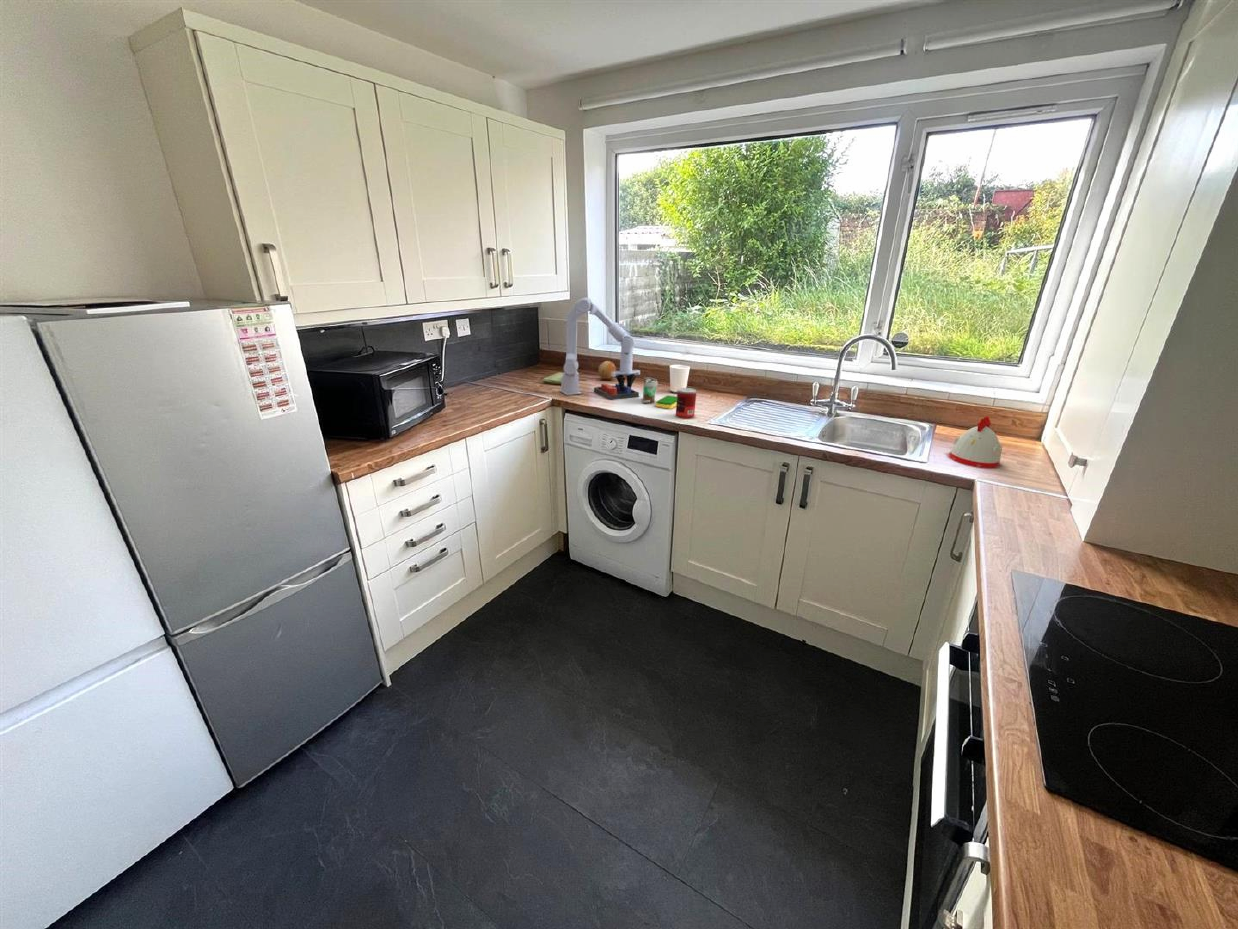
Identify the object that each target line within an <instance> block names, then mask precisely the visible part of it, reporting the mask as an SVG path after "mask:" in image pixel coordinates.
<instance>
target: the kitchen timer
mask: <svg viewBox="0 0 1238 929" xmlns="http://www.w3.org/2000/svg"><path fill="white" fill-rule="evenodd" d="M991 424H992V422H991V419H990V416H984V417H983V418H980V421H979V422H978V423H977V426H973V427H971V428H969V429H968V430H966V431H965V432H964V433H962V434H961V435H960V436H958V435H957V436H956V438H955V440H954V442H953V443H952V447H951V449H950V451H949V455H948V457H949V458H950V460H953V461H954V462H957V463H960V464H961V465H962V464H963V465H965V466H970V467H976V468H982V469H983V468H985V469H993V468H997V467H999V464H1000V461H1001V455H1002V450H1003V444H1000V440H999V438H998V436H997V434H996V433H995V431H993V430H992V429H991V428H990V426H991Z"/></svg>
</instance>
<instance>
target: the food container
mask: <svg viewBox="0 0 1238 929" xmlns="http://www.w3.org/2000/svg"><path fill="white" fill-rule="evenodd" d="M658 385H659V382H658V379H656V378H654V377H648V376H644V377H643V391H642V392H643V393H642V402H643V404H644V405H650V404H654V403H655V399H656V392H657V391H656V390H657V386H658Z"/></svg>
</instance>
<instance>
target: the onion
mask: <svg viewBox="0 0 1238 929" xmlns="http://www.w3.org/2000/svg"><path fill="white" fill-rule="evenodd" d="M615 371H617V366H616V365H615V364H614V362H613V361H610V360H605V361H603V362H602V363H601V364H600V365H599V366H598V375H599V377H600V378H601V379H602V380H605V381H612V380H613V379H614V378H615V377H613V376H611V372H615Z"/></svg>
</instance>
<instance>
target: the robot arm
mask: <svg viewBox="0 0 1238 929" xmlns="http://www.w3.org/2000/svg"><path fill="white" fill-rule="evenodd" d="M587 313H588V314H589V315H592V316H596V317H597V318H598V319H599V320H600V321H601V322H602V323H603V324H604V325H605V326H606V327H607V329H608V330H607V331H608V333H609V334H610V335H611V336H612V337H613V339H615V340H616V341H617V342H618V343H620V346H621V348H620V358H619V359H620V361H619V370H616V371H615V372H611V376H613V377H614V378H616V380H617V383H619V386H620V391H624V384H625V381H626V386H628V387H631V388H632V386H633V383H634V381H635V380H636V376H640V375H641V370H639V369H633V362H634V358H633V356H634V352H633V351H634V348H633V346H634V338H633V337H632V335H631V334H630V333H629V332H628V331H626V330H625V329H624V328H623V327H622V326H623V325H622V324H621V323H619V322H613V320H611V319H610V318H609V316H608V315H607V314H606V313H605V312H604V311H603V310H602V308H601V307H600V306H598V305H597V304H596V303H595V302H593V301H592V300H591V299H590V298H589V297H587V296H583V297H581V298H579V299H578V300H577V301H575V302H574V304H573V305H572V306H571V308H570V309H569V310H568V313H567V314H566V354H565V362H564V364H563V368H562V369H563V373H564V374H563V375H562V377H561V385H560V389H559V392H561V393H562V394H564V395H566V396H572V395H573V396H574V395H582V394H583V392H582V391H580V373H579V372H578V370H579V367H580V365H579V362H578V354H577V353H578V352H577V351H578V319H579V318H580V317H581V316H583V315H585V314H587ZM625 376H626V377H625Z"/></svg>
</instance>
